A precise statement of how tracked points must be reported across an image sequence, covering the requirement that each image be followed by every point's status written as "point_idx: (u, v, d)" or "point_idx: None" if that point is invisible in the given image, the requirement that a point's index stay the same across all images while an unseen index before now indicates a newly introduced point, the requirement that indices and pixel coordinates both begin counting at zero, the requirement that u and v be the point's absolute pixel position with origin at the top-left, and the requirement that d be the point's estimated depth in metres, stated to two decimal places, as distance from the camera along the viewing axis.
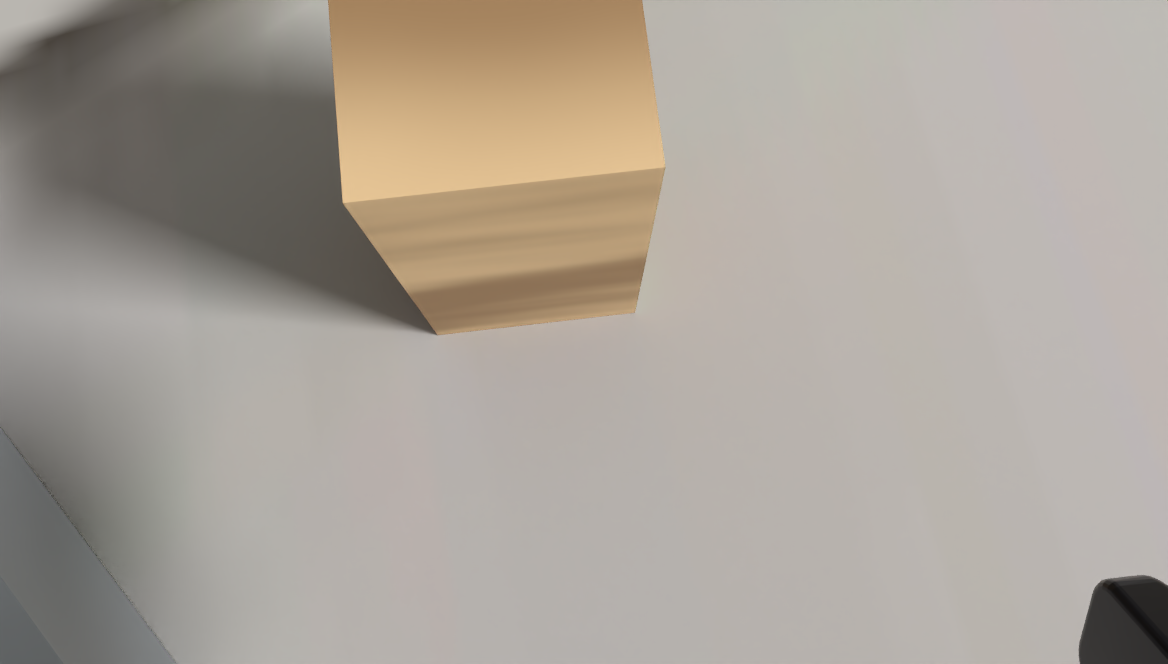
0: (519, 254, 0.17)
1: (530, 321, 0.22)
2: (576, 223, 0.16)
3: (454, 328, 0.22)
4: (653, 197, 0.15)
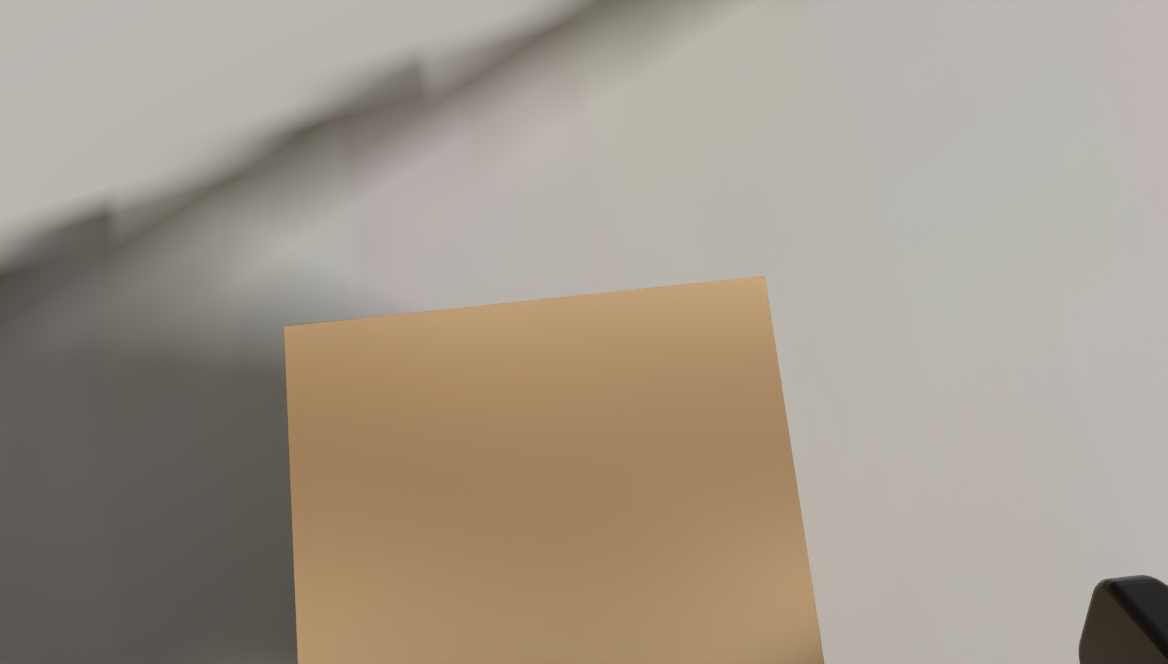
0: None
1: None
2: None
3: None
4: None
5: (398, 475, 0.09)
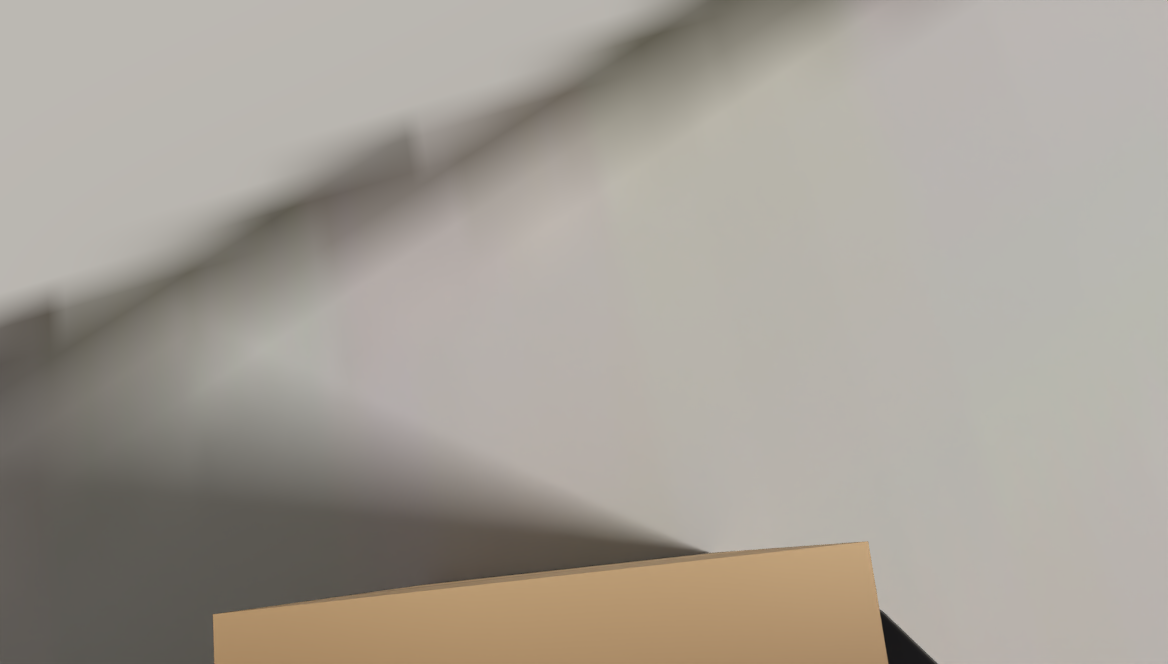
0: None
1: None
2: None
3: None
4: None
5: None
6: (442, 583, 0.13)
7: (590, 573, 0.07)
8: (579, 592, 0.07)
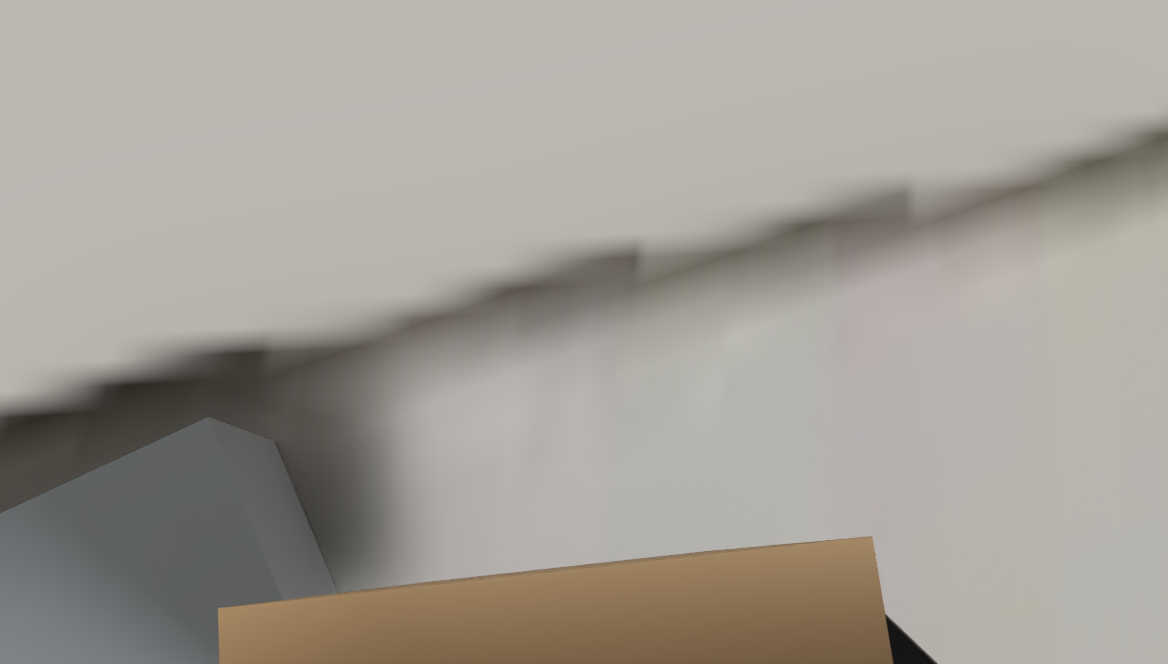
0: None
1: None
2: None
3: None
4: None
5: None
6: (444, 580, 0.13)
7: (595, 567, 0.07)
8: (584, 586, 0.07)
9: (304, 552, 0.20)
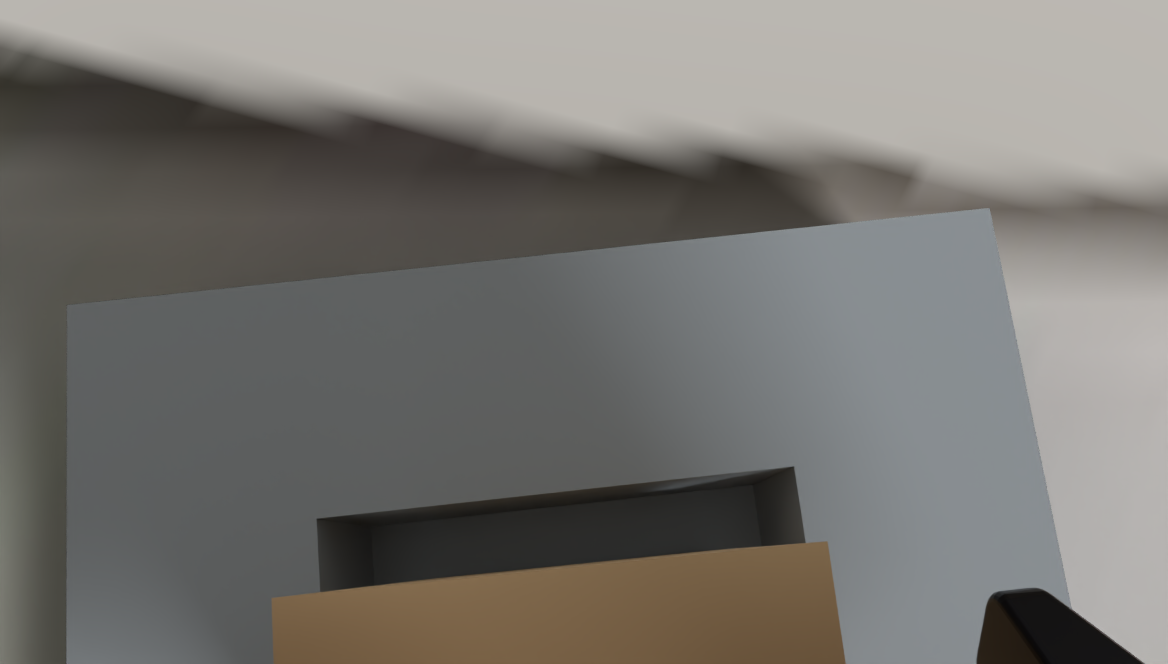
0: None
1: None
2: None
3: None
4: None
5: None
6: None
7: (591, 566, 0.08)
8: (582, 582, 0.08)
9: None
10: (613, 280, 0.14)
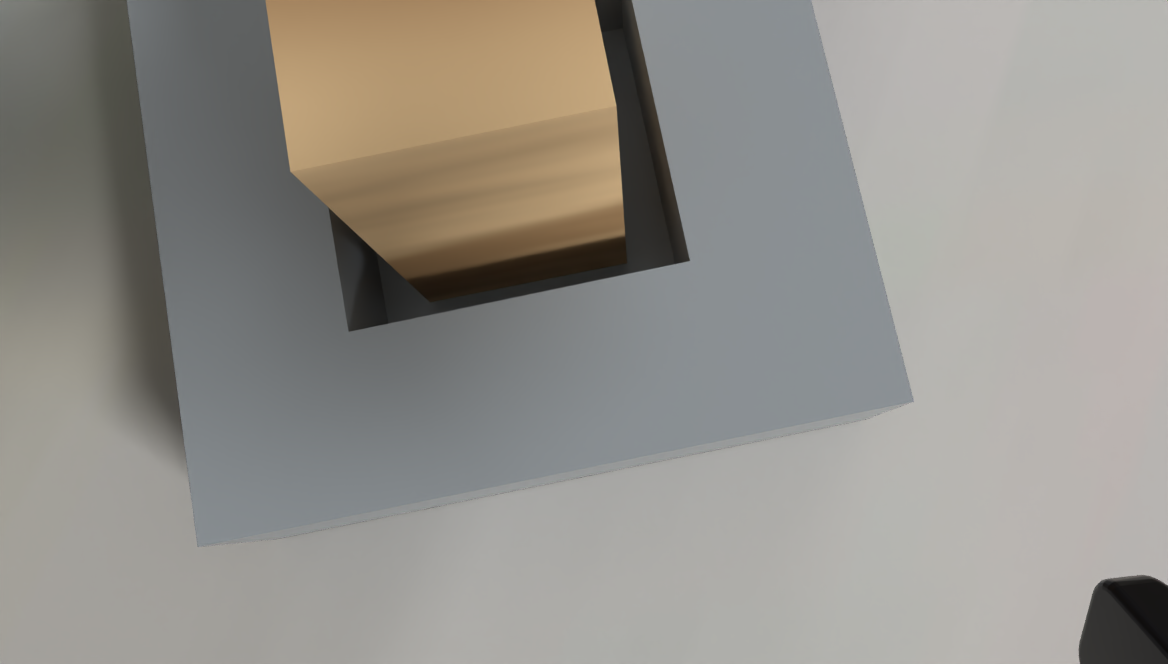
0: (490, 212, 0.17)
1: (521, 280, 0.22)
2: (540, 173, 0.16)
3: (445, 294, 0.22)
4: (612, 139, 0.15)
5: None
6: None
7: None
8: None
9: None
10: None
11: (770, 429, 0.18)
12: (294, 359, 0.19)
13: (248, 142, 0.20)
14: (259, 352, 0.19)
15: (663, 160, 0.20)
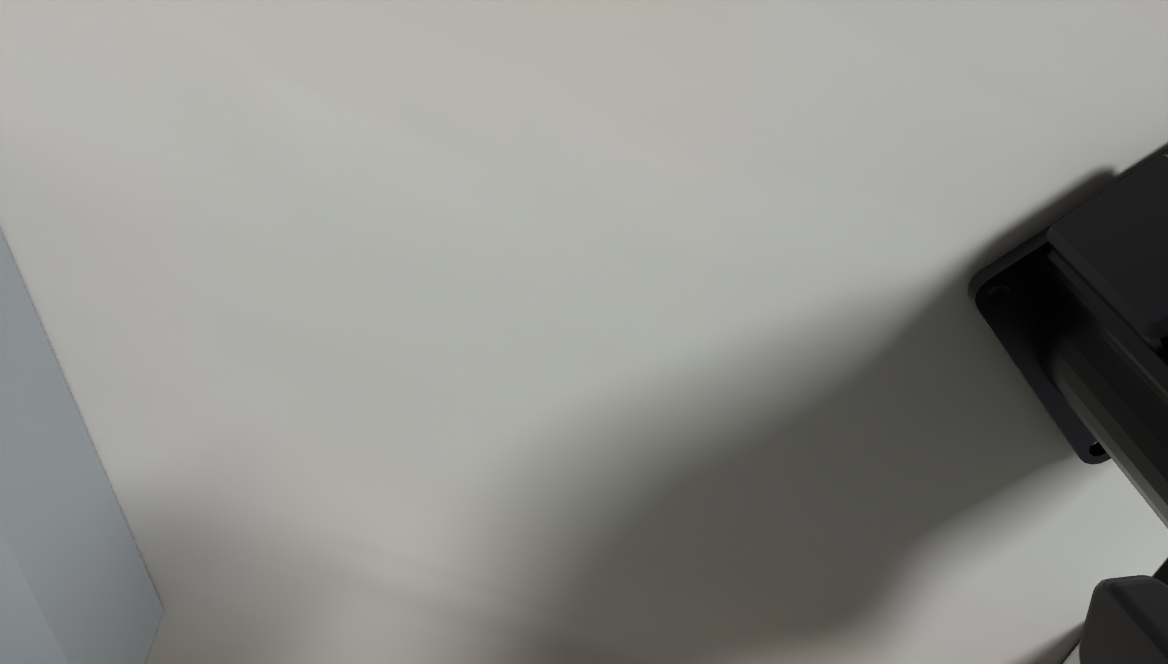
0: None
1: None
2: None
3: None
4: None
5: None
6: None
7: None
8: None
9: None
10: None
11: None
12: None
13: None
14: None
15: None
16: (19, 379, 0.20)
